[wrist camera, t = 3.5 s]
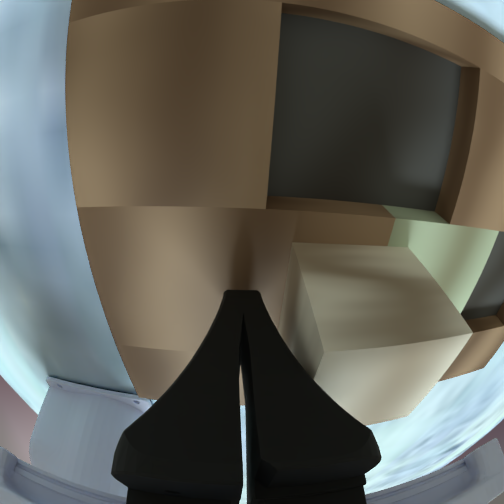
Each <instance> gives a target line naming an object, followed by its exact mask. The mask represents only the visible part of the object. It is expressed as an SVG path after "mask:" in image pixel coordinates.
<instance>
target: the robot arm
mask: <svg viewBox="0 0 504 504" xmlns="http://www.w3.org/2000/svg"><path fill="white" fill-rule="evenodd" d="M240 366H241V373H242V381H243V390H244V398H245V410H246V463H247V504H488V503H489V502H491V501H492V500H493V499H494V498H496V497H497V496H498V495H500V494H501V493H502V492H504V455H503V452H502V450H501V447H500V445H499V442H498V440H497V438H494V439H493V440H491V441H489V442H488V443H486V444H484V445H482V446H481V447H479V448H477V449H476V450H474V451H472V452H471V453H470V454H468V455H467V456H465V458H463V459H462V460H459V461H457V462H455V463H453V464H451V465H449V466H446V467H444V468H442V469H440V470H437V471H435V472H432V473H430V474H428V475H425V476H422V477H420V478H417V479H415V480H412V481H409V482H406V483H403V484H400V485H397V486H394V487H391V488H388V489H384V490H381V491H378V492H374V493H370V494H366V495H365V492H364V488H363V485H365V484H366V478H365V473H367V472H368V471H370V470H371V469H372V468H374V467H375V466H376V465H377V464H378V463H379V462H380V461H381V454H380V450H379V446H378V444H377V442H376V439H375V437H374V435H373V433H372V431H371V429H369V428H368V427H366V426H365V425H364V424H362V423H361V422H359V421H358V420H357V419H355V418H354V417H353V416H352V415H350V414H349V413H348V412H347V411H345V410H344V409H343V408H342V407H341V406H340V405H338V404H337V403H336V402H335V401H334V400H333V399H332V398H331V397H330V396H329V395H328V394H327V393H326V392H325V391H324V390H323V389H322V388H321V387H320V386H319V385H318V384H317V383H316V382H315V381H314V380H313V379H312V378H311V376H310V375H309V374H308V373H307V372H306V371H305V369H304V368H303V367H302V366H301V364H300V363H299V362H298V360H297V359H296V358H295V356H294V355H293V354H292V352H291V351H290V349H289V348H288V346H287V345H286V343H285V342H284V340H283V339H282V337H281V335H280V334H279V332H278V330H277V328H276V326H275V325H274V323H273V321H272V319H271V317H270V315H269V313H268V311H267V309H266V307H265V304H264V302H263V299H262V296H261V293H260V292H259V291H258V290H226V291H224V294H223V298H222V301H221V304H220V307H219V310H218V312H217V314H216V317H215V319H214V321H213V323H212V325H211V327H210V329H209V331H208V333H207V334H206V336H205V338H204V340H203V341H202V343H201V345H200V347H199V348H198V350H197V351H196V353H195V354H194V356H193V357H192V359H191V360H190V362H189V363H188V365H187V366H186V367H185V369H184V370H183V371H182V373H181V374H180V375H179V376H178V378H177V379H176V380H175V381H174V383H173V384H172V385H171V386H170V387H169V388H168V389H167V391H166V392H165V393H164V394H163V395H162V396H161V397H160V398H159V399H158V400H157V401H156V402H155V403H154V404H153V405H152V404H151V402H150V400H149V399H146V398H139V397H138V395H133V394H127V393H121V392H115V391H109V390H104V389H99V388H94V387H89V386H85V385H80V384H76V383H72V382H68V381H64V380H60V379H56V378H52V377H47V379H46V382H47V383H48V385H49V386H50V387H49V389H48V391H47V394H46V397H45V399H44V402H43V404H42V407H41V410H40V412H39V415H38V418H37V421H36V424H35V427H34V429H33V433H32V436H31V439H30V446H29V447H30V448H29V454H30V461H31V464H32V465H30V464H28V463H26V462H24V461H22V460H20V459H18V458H17V457H16V456H15V455H13V454H12V453H10V452H9V451H8V450H6V449H4V448H3V447H1V446H0V504H239V501H240V499H241V494H242V488H243V462H242V443H241V420H240V389H239V376H240Z"/></svg>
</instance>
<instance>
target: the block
mask: <svg viewBox="0 0 504 504" xmlns="http://www.w3.org/2000/svg"><path fill="white" fill-rule="evenodd" d="M278 332H279V334H280V335H281V337H282V339H283V340H284V342H285V343H286V345H287V346H288V348H289V349H290V351H291V352H292V354H293V355H294V356H295V358H296V359H297V360H298V362H299V363H300V364H301V366H302V367H303V368H304V369H305V371H306V372H307V373H308V374H309V375H310V376H311V378H312V379H313V380H314V381H315V382H316V383H317V384H318V385H319V386H320V387H321V388H322V389H323V390H324V391H325V392H326V393H327V394H328V395H329V396H330V397H331V398H332V399H333V400H334V401H335V402H336V403H337V404H338V405H340V406H341V407H342V408H343V409H344V410H345V411H347V412H348V413H349V414H350V415H352V416H353V417H354V418H355V419H357V420H358V421H359V422H361V423H362V424H364V425H365V426H366V425H371V424H376V423H381V422H385V421H390V420H394V419H398V418H402V417H406V416H408V415H409V414H410V413H411V412H412V411H413V410H414V409H415V408H416V406H417V405H418V404H419V403H420V402H421V401H422V400H423V399H424V397H425V396H426V395H427V394H428V393H429V392H430V390H431V389H432V388H433V387H434V386H435V384H436V383H437V382H438V381H439V379H440V378H441V377H442V376H443V374H444V373H445V372H446V371H447V369H448V368H449V367H450V365H451V364H452V363H453V361H454V360H455V358H456V357H457V356H458V354H459V353H460V351H461V350H462V349H463V347H464V346H465V344H466V343H467V341H468V340H469V338H470V337H471V335H472V334H473V332H472V330H471V329H470V327H469V326H468V324H467V323H466V321H465V320H464V319H463V317H462V316H461V314H460V313H459V311H458V310H457V309H456V307H455V306H454V304H453V303H452V302H451V300H450V299H449V298H448V296H447V295H446V294H445V292H444V291H443V290H442V288H441V287H440V286H439V284H438V283H437V282H436V281H435V279H434V278H433V277H432V276H431V274H430V273H429V272H428V271H427V269H426V268H425V267H424V266H423V264H422V263H421V262H420V261H419V260H418V258H417V257H416V256H415V255H414V254H413V252H412V251H411V250H410V249H409V248H408V247H392V246H370V245H347V244H322V243H296V242H292V247H291V254H290V260H289V267H288V273H287V280H286V286H285V292H284V298H283V305H282V311H281V316H280V322H279V328H278Z"/></svg>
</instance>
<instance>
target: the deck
mask: <svg viewBox="0 0 504 504" xmlns="http://www.w3.org/2000/svg"><path fill="white" fill-rule="evenodd" d="M65 97H66V123H67V137H68V148H69V158H70V166H71V174H72V181H73V188H74V194H75V200H76V205H77V211H78V216H79V221H80V226H81V231H82V235H83V239H84V244H85V248H86V252H87V256H88V260H89V264H90V267H91V271H92V275H93V278H94V282H95V285H96V288H97V292H98V295H99V298H100V301H101V304H102V307H103V310H104V313H105V316H106V319H107V322H108V325H109V327H110V330H111V333H112V336H113V338H114V341H115V343H116V346H117V349H118V351H119V354H120V356H121V358H122V361H123V363H124V366H125V368H126V370H127V373H128V375H129V377H130V379H131V382H132V384H133V386H134V388H135V390H136V392H137V394H138V397H139V398H146V399H154V400H158V399H159V398H160V397H161V396H162V395H163V394H164V393H165V392H166V391H167V389H168V388H169V387H170V386H171V385H172V384H173V383H174V381H175V380H176V379H177V378H178V376H179V375H180V374H181V373H182V371H183V370H184V369H185V367H186V366H187V365H188V363H189V362H190V360H191V359H192V357H193V356H194V354H195V353H196V351H197V350H198V348H199V347H200V345H201V343H202V341H203V340H204V338H205V336H206V334H207V333H208V331H209V329H210V327H211V325H212V323H213V321H214V319H215V317H216V314H217V312H218V310H219V307H220V304H221V301H222V298H223V294H224V291H226V290H258V291H259V292H260V293H261V296H262V299H263V302H264V304H265V307H266V309H267V311H268V313H269V315H270V317H271V319H272V321H273V323H274V325H275V326H276V328H277V330H278V328H279V322H280V316H281V311H282V305H283V298H284V292H285V286H286V280H287V273H288V267H289V260H290V254H291V247H292V242H296V243H322V244H347V245H370V246H392V247H408V248H409V249H410V250H411V251H412V252H413V254H414V255H415V256H416V257H417V258H418V260H419V261H420V262H421V263H422V264H423V266H424V267H425V268H426V269H427V271H428V272H429V273H430V274H431V276H432V277H433V278H434V279H435V281H436V282H437V283H438V284H439V286H440V287H441V288H442V290H443V291H444V292H445V294H446V295H447V296H448V298H449V299H450V300H451V302H452V303H453V304H454V306H455V307H456V309H457V310H458V311H459V313H460V314H461V316H462V317H463V319H464V320H465V321H466V323H467V324H468V326H469V327H470V329H471V330H472V332H473V334H472V335H471V337H470V338H469V340H468V341H467V343H466V344H465V346H464V347H463V349H462V350H461V351H460V353H459V354H458V356H457V357H456V358H455V360H454V361H453V363H452V364H451V365H450V367H449V368H448V369H447V371H446V372H445V373H444V374H443V376H442V377H441V378H440V379H439V381H442V380H446V379H450V378H453V377H457V376H460V375H463V374H466V373H470V372H473V371H476V370H479V369H482V368H484V367H485V366H486V364H487V363H488V362H489V360H490V359H491V358H492V357H493V355H494V354H495V353H496V351H497V350H498V348H499V347H500V346H501V344H502V343H503V341H504V43H503V42H502V41H500V40H499V39H498V38H496V37H495V36H493V35H492V34H490V33H489V32H488V31H486V30H485V29H483V28H482V27H480V26H479V25H477V24H475V23H474V22H472V21H471V20H469V19H467V18H466V17H464V16H462V15H461V14H459V13H457V12H455V11H454V10H452V9H450V8H448V7H446V6H445V5H443V4H441V3H439V2H437V1H435V0H72V3H71V10H70V18H69V27H68V37H67V50H66V75H65ZM439 381H438V382H439ZM239 389H240V405H245V398H244V390H243V381H242V373H241V366H240V376H239Z"/></svg>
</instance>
